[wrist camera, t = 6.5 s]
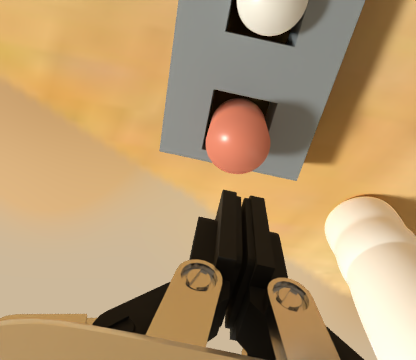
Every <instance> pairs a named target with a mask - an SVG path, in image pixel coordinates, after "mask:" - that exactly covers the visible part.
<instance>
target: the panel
mask: <svg viewBox="0 0 416 360" xmlns="http://www.w3.org/2000/svg"><path fill="white" fill-rule="evenodd" d="M364 2H365V0H308V4H307V7H306V10H305V12H304V14H303V15H302V17H301V18H300V20H299V21H298V22H297V23H296V24H295V25H294V26H293V27H292V28H291V31H290V34H289V38H288V41H287V44H284V43H280V42H275V41H271V40H266V39H262V38H257V37H253V36H248V35H243V34H239V33H234V32H230V31H227V28H228V23H229V18H230V13H231V8H232V3H233V0H179V1H178V9H177V17H176V25H175V33H174V41H173V48H172V56H171V64H170V72H169V80H168V88H167V96H166V104H165V112H164V120H163V128H162V135H161V143H160V151H161V152H165V153H170V154H175V155H179V156H184V157H189V158H193V159H198V160H202V161H207V162H212V161H211V160H210V158H209V156H208V154H207V151H206V137H207V134H206V133H207V128H208V123H209V118H210V113H211V108H212V103H213V98H214V93H215V90H219V91H224V92H228V93H233V94H237V95H242V96H247V97H251V98H256V99H260V100H265V101H270V103H269V106H268V110H267V113H266V117H265V121H266V125H267V128H268V132H269V136H270V150H269V153H268V156H267V158H266V159H265V161H264V162H263V163H262V164H261V165H260V166H259V167H258V168H256V169H255V170H253V172H258V173H262V174H267V175H272V176H276V177H281V178H286V179H290V180H295V181H297V178H298V176H299V173H300V171H301V168H302V165H303V163H304V160H305V157H306V155H307V152H308V150H309V147H310V144H311V142H312V139H313V136H314V134H315V131H316V129H317V126H318V123H319V121H320V118H321V115H322V113H323V110H324V108H325V105H326V102H327V100H328V97H329V94H330V92H331V89H332V87H333V84H334V81H335V79H336V76H337V73H338V71H339V68H340V65H341V63H342V60H343V58H344V55H345V52H346V50H347V47H348V44H349V42H350V39H351V37H352V34H353V31H354V29H355V26H356V23H357V21H358V18H359V16H360V13H361V10H362V8H363V5H364ZM212 163H213V162H212Z"/></svg>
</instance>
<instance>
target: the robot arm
mask: <svg viewBox="0 0 416 360" xmlns="http://www.w3.org/2000/svg"><path fill="white" fill-rule="evenodd" d="M224 316H225V328H229V329H230V339H231V340H235V341H238V343H239V344H240V345H241V346H242V347H243V350H242V355H240V354H236V353H231V352H226V351H221V350H216V349H211V348H206V344H207V342H208V341H209V340H211V339H212V338H214V337H215V336H216V335H217V333H218V330H219V327H220V326H221V325H222V322H223V319H224ZM0 360H364V359H363V358H362V357H360V356H359V355H358V354H357V353H356V352H355V351H354V350H353V349H351V348H350V347H349V346H348V345H347V344H346V343H345V342H343V341H342V340H341V339H340V338H339V337H338V336H337V335H335V334H334V333H333V332H332V331H331V330H330V329H329V328H328V327H326V326H325V324H324V322H323V320H322V317H321V315H320V313H319V311H318V308H317V306H316V304H315V302H314V299H313V297H312V296H311V294H310V293H309V291H308V290H307V289H306V288H305V287H304V286H302V285H301V284H300V283H298V282H296V281H294V280H291V279H288V276H287V271H286V266H285V261H284V256H283V251H282V247H281V242H280V237H279V234H277V233H273V232H269V225H268V219H267V213H266V207H265V201H264V198H260V197H255V196H250V197H249V199H248V198H244V200H243V204H242V207H241V197H238V196H237V193H236V192H232V191H227V190H223V192H222V195H221V199H220V203H219V207H218V211H217V215H216V219H215V220H212V219H208V218H203V217H199V218H198V222H197V227H196V231H195V236H194V240H193V245H192V250H191V255H190V260H188V261H185V262H183V263H182V264H180V265H179V267H178V268H177V270H176V272H175V274H174V276H173V278H172V280H171V282H169V283H166V284H165V285H162V286H160V287H158V288H156V289H154V290H151V291H149V292H147V293H145V294H143V295H141V296H138V297H136V298H134V299H132V300H130V301H128V302H126V303H123V304H121V305H119V306H117V307H115V308H113V309H110V310H108V311H106V312H105V313H103V314H102V315H100V316H99V317H98V318H87V314H16V315H9V316H5V317H2V318H0Z"/></svg>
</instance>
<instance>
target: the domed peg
mask: <svg viewBox="0 0 416 360" xmlns="http://www.w3.org/2000/svg"><path fill="white" fill-rule="evenodd" d="M307 4H308V0H237V9H238V14H239V17H240V19H241V21H242V22H243V24H244V25H245V26H246V27H247V28H248V29H249V30H251V31H253V32H255V33H257V34H260V35H264V36H275V35H279V34H282V33H284V32H286V31H288V30H289V29H291V28H292V27H293V26H294V25H295V24H296V23H297V22H298V21H299V20H300V18H301V17H302V15H303V14H304V12H305V10H306V7H307Z"/></svg>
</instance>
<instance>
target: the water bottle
mask: <svg viewBox="0 0 416 360" xmlns="http://www.w3.org/2000/svg"><path fill="white" fill-rule="evenodd" d="M325 235H326V238H327V240H328V243H329V245H330V247H331V249H332V251H333V253H334V254H335V256H336V259H337V263H338V266H339V269H340V271H341V273H342V275H343V277H344V279H345V281H346V282H347V284H348V285H349V287H350V291H351V294H352V297H353V300H354V303H355V306H356V309H357V311H358V314H359V317H360V319H361V322H362V324H363V327H364V329H365V331H366V334H367V336H368V339H369V341H370V343H371V346H372V348H373V350H374V352H375V355H376V357H377V359H378V360H416V235H415V234H414V233H413V232H412V231H411V230H410V229H408V228H407V227H406V226H405V224H404V222H403V220H402V219H401V218H400V216H399V215H398V214H397V212H396V211H395V210H394V209H393V208H392V207H391V206H390V205H389V204H388V203H386V202H385V201H383V200H381V199H378V198H375V197H368V196H364V197H356V198H352V199H349V200H346V201H344V202H342V203H341V204H339V205H338V206H336V207H335V208H334V209H333V210H332V211H331V213H330V214H329V216H328V217H327V220H326V223H325Z"/></svg>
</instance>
